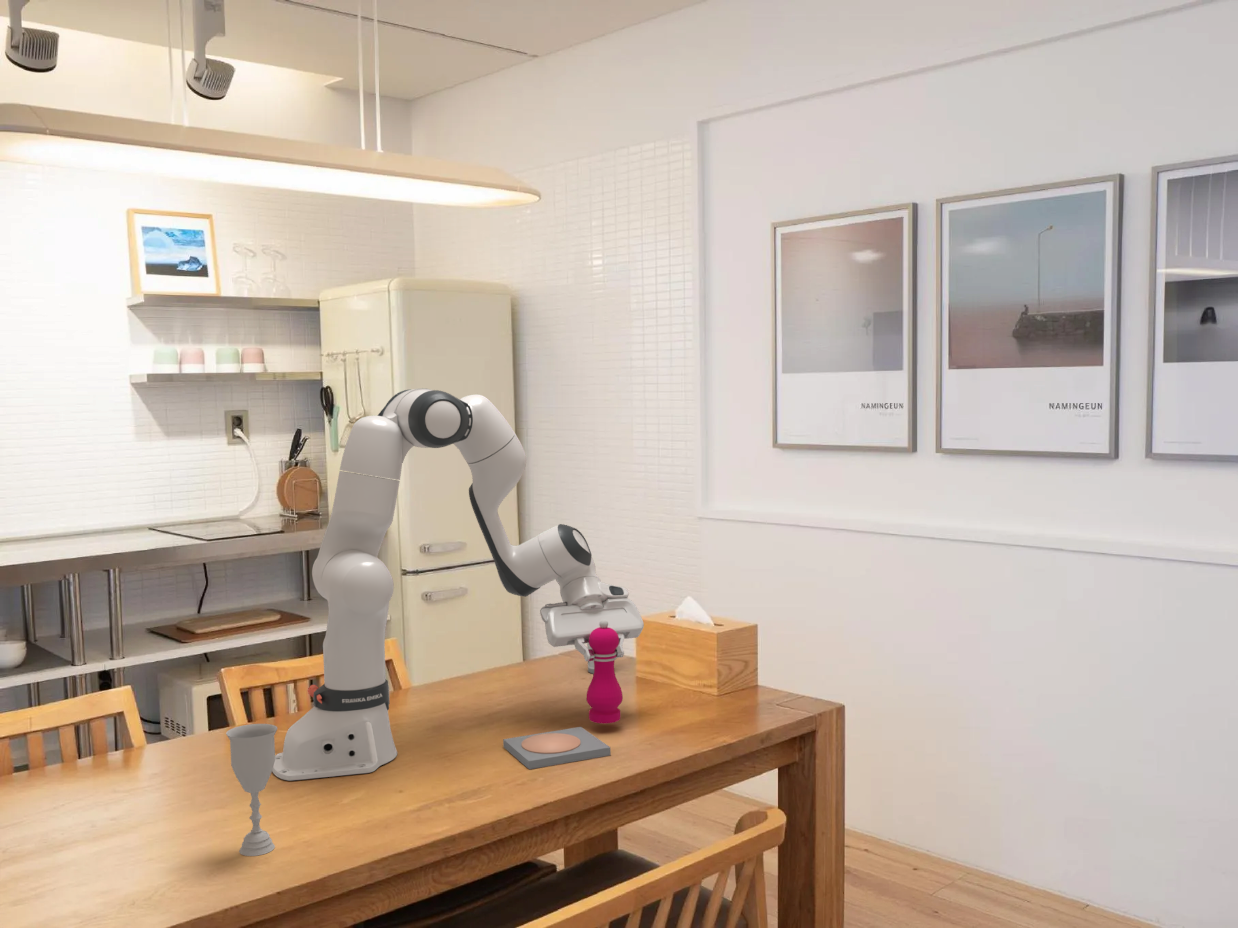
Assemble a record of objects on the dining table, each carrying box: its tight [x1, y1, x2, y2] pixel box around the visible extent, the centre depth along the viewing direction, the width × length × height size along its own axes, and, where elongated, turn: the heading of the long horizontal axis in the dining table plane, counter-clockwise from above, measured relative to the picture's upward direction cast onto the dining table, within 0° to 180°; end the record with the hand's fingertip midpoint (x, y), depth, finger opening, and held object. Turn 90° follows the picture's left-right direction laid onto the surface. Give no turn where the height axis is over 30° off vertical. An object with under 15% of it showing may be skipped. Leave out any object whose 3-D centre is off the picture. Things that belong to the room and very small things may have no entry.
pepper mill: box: [586, 620, 624, 724], centre depth 218 cm, size 7×7×20 cm
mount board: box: [502, 726, 612, 770], centre depth 205 cm, size 16×14×2 cm
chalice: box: [225, 723, 278, 857], centre depth 163 cm, size 7×7×18 cm
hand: (605, 657), depth 217 cm, fingers closed on pepper mill, 5 cm apart
